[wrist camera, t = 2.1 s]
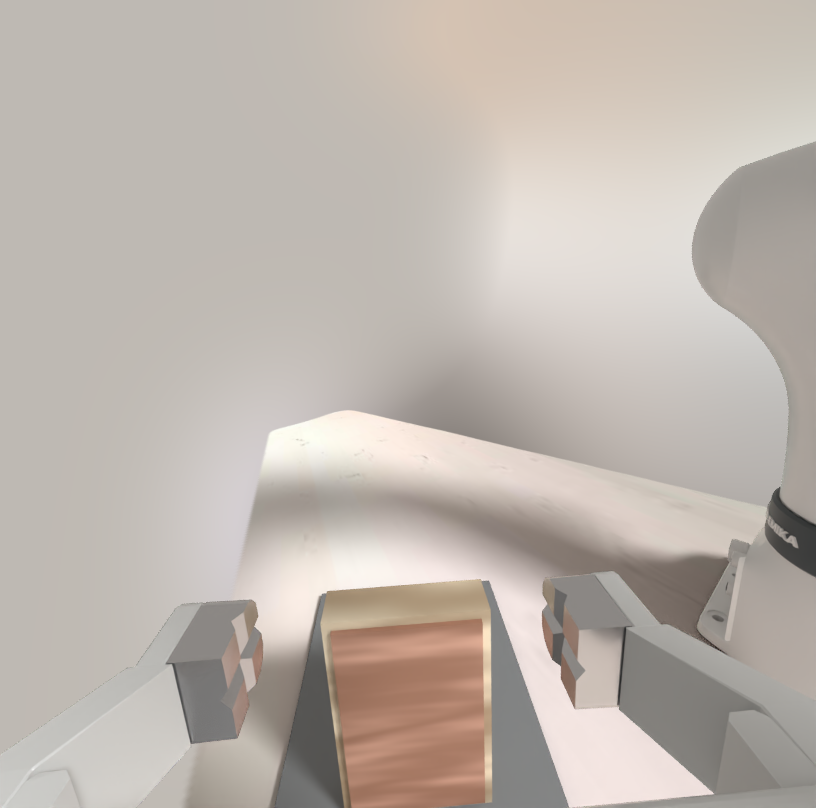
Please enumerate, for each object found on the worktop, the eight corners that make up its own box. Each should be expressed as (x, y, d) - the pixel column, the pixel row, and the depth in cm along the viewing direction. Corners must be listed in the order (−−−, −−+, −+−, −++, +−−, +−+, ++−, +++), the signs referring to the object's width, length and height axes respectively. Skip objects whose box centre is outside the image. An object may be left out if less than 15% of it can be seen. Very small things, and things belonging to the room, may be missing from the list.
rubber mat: (577, 836, 24) (577, 831, 24) (263, 866, 24) (262, 861, 24) (488, 583, 46) (488, 580, 45) (322, 597, 45) (322, 593, 45)
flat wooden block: (493, 808, 25) (492, 613, 22) (344, 822, 25) (319, 628, 22) (483, 758, 28) (480, 579, 25) (349, 771, 28) (327, 591, 24)
